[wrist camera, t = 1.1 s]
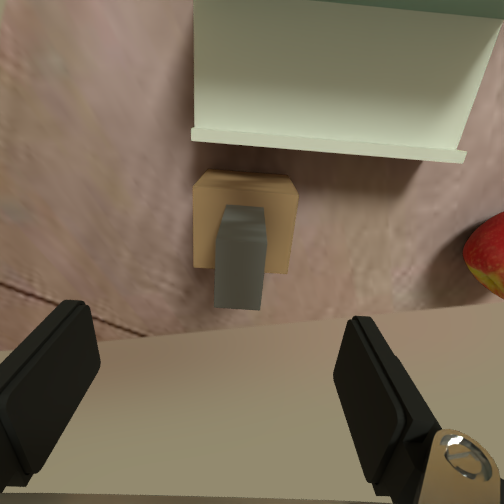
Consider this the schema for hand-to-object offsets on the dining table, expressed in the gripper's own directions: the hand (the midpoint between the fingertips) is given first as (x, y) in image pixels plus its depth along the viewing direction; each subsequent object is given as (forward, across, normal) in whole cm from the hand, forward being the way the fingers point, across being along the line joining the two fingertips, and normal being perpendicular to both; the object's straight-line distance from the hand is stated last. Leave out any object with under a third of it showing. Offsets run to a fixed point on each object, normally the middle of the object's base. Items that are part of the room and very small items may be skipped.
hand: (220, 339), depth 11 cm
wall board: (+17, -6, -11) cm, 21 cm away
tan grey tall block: (+18, -1, 0) cm, 18 cm away
